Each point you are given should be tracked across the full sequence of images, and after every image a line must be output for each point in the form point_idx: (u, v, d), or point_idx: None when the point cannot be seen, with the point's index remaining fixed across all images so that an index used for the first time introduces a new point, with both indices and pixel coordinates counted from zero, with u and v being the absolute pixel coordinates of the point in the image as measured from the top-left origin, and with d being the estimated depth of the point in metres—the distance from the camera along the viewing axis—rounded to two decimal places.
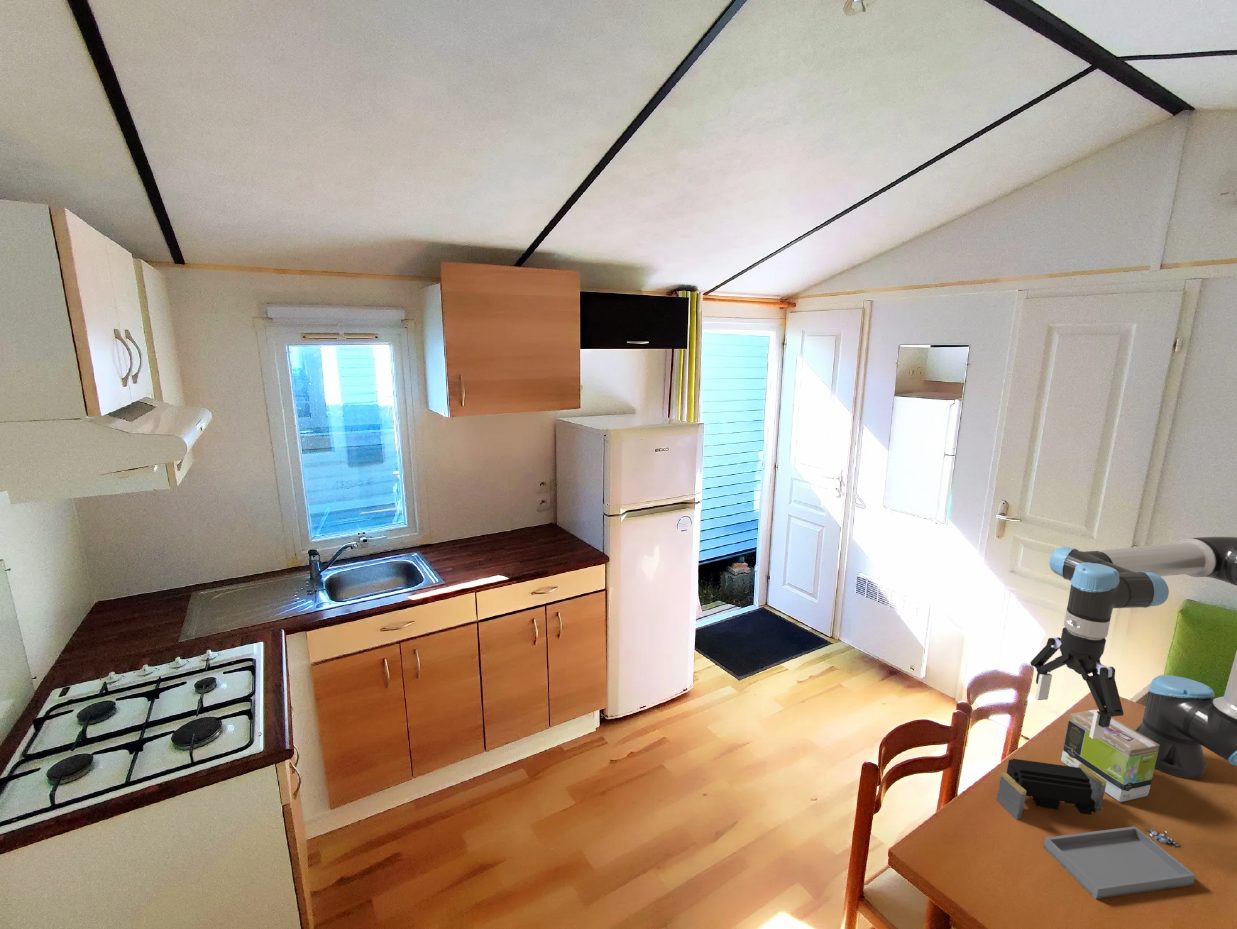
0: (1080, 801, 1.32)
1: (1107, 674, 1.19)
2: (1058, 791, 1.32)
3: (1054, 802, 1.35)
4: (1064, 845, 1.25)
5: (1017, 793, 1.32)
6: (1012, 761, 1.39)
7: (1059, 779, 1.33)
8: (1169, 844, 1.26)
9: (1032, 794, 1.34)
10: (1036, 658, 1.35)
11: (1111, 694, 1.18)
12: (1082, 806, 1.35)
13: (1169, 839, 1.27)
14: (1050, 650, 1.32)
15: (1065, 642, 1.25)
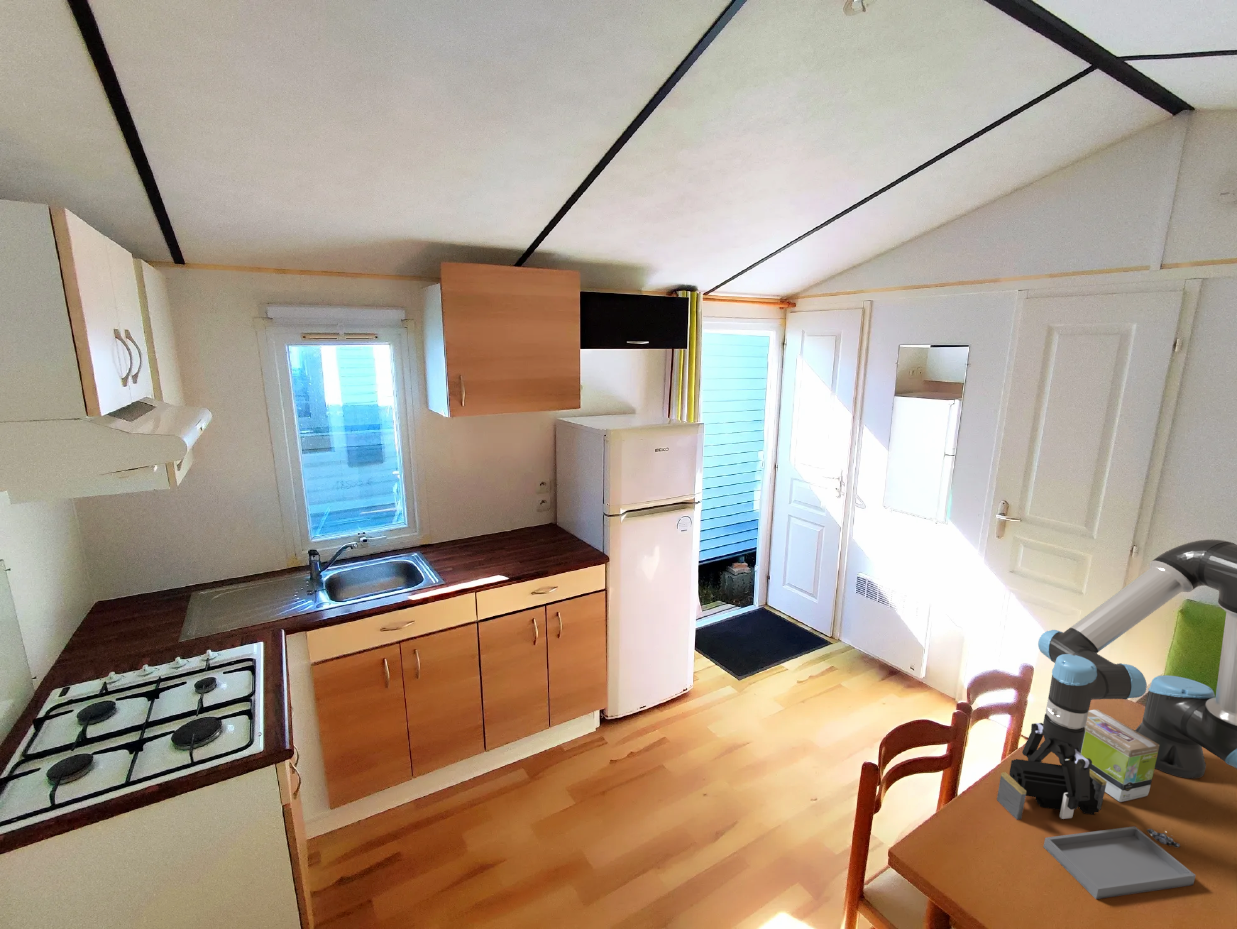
0: (1083, 801, 1.32)
1: (1083, 766, 1.27)
2: (1061, 792, 1.32)
3: (1057, 803, 1.35)
4: (1064, 845, 1.25)
5: (1017, 793, 1.32)
6: (1015, 761, 1.38)
7: (1062, 779, 1.33)
8: (1169, 844, 1.26)
9: (1035, 794, 1.34)
10: (1026, 747, 1.42)
11: (1082, 783, 1.27)
12: (1085, 806, 1.35)
13: (1169, 839, 1.27)
14: (1036, 736, 1.39)
15: (1046, 728, 1.33)
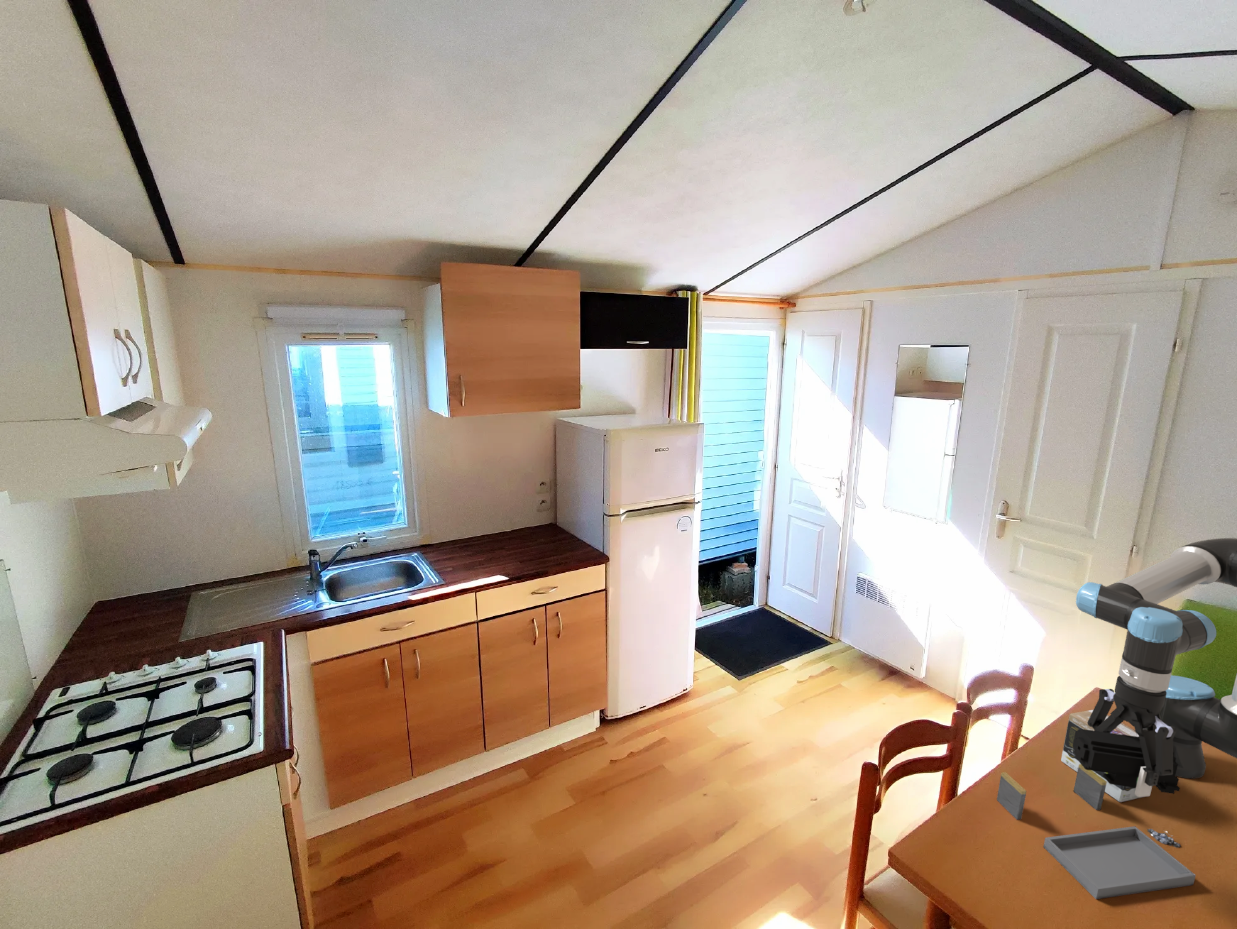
0: (1163, 777, 1.14)
1: (1166, 735, 1.10)
2: (1137, 766, 1.15)
3: (1130, 779, 1.18)
4: (1064, 845, 1.25)
5: (1017, 793, 1.32)
6: (1080, 732, 1.21)
7: (1138, 752, 1.15)
8: (1170, 844, 1.26)
9: (1105, 769, 1.16)
10: (1092, 716, 1.24)
11: (1165, 754, 1.10)
12: (1163, 784, 1.18)
13: (1170, 839, 1.27)
14: (1104, 704, 1.22)
15: (1120, 693, 1.16)
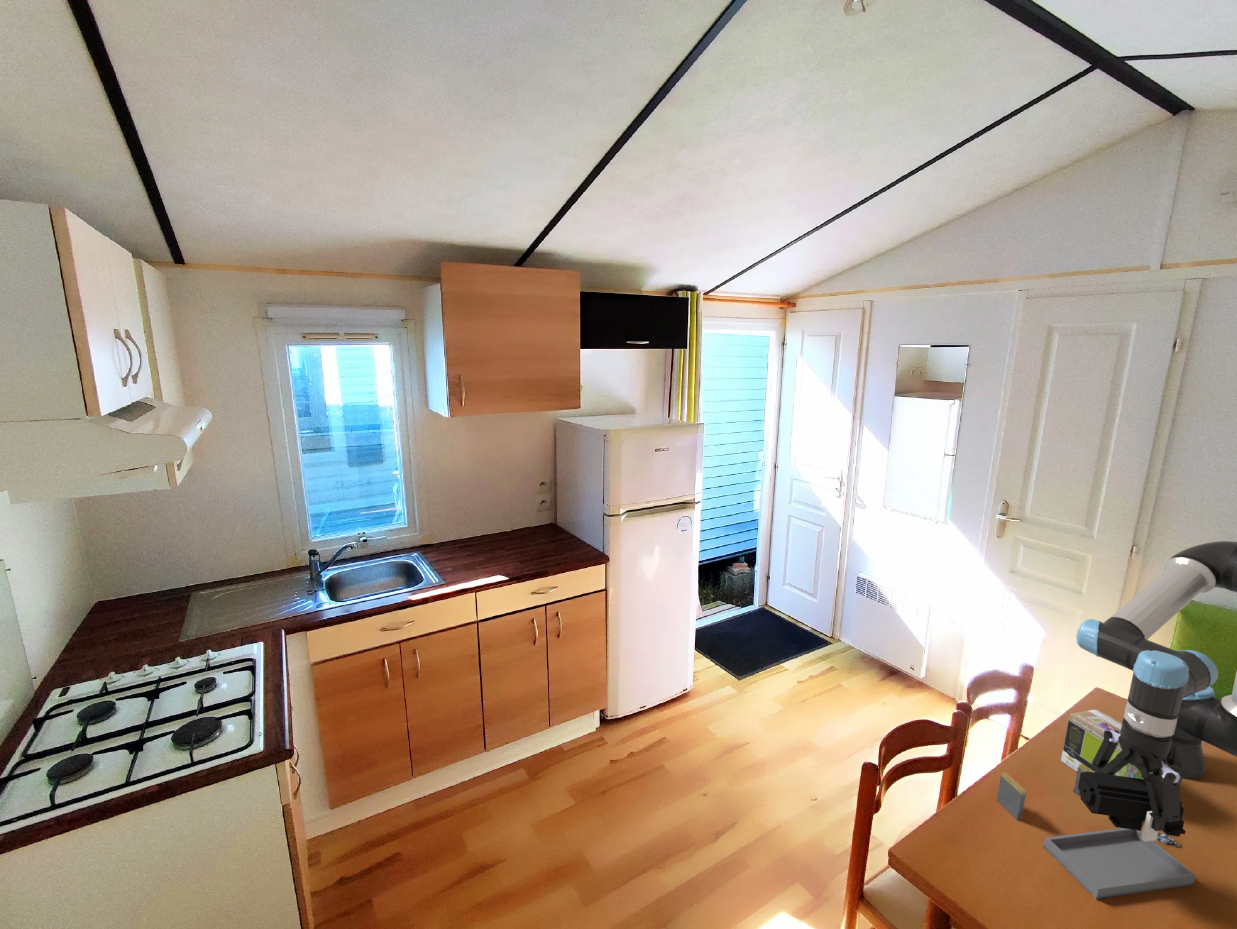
0: None
1: (1173, 781, 1.09)
2: (1143, 810, 1.14)
3: (1135, 822, 1.17)
4: (1064, 845, 1.25)
5: (1017, 793, 1.32)
6: (1086, 774, 1.20)
7: (1144, 796, 1.15)
8: (1170, 844, 1.26)
9: (1112, 813, 1.15)
10: (1097, 757, 1.23)
11: (1172, 800, 1.09)
12: (1168, 827, 1.17)
13: (1170, 839, 1.27)
14: (1109, 745, 1.21)
15: (1126, 736, 1.15)
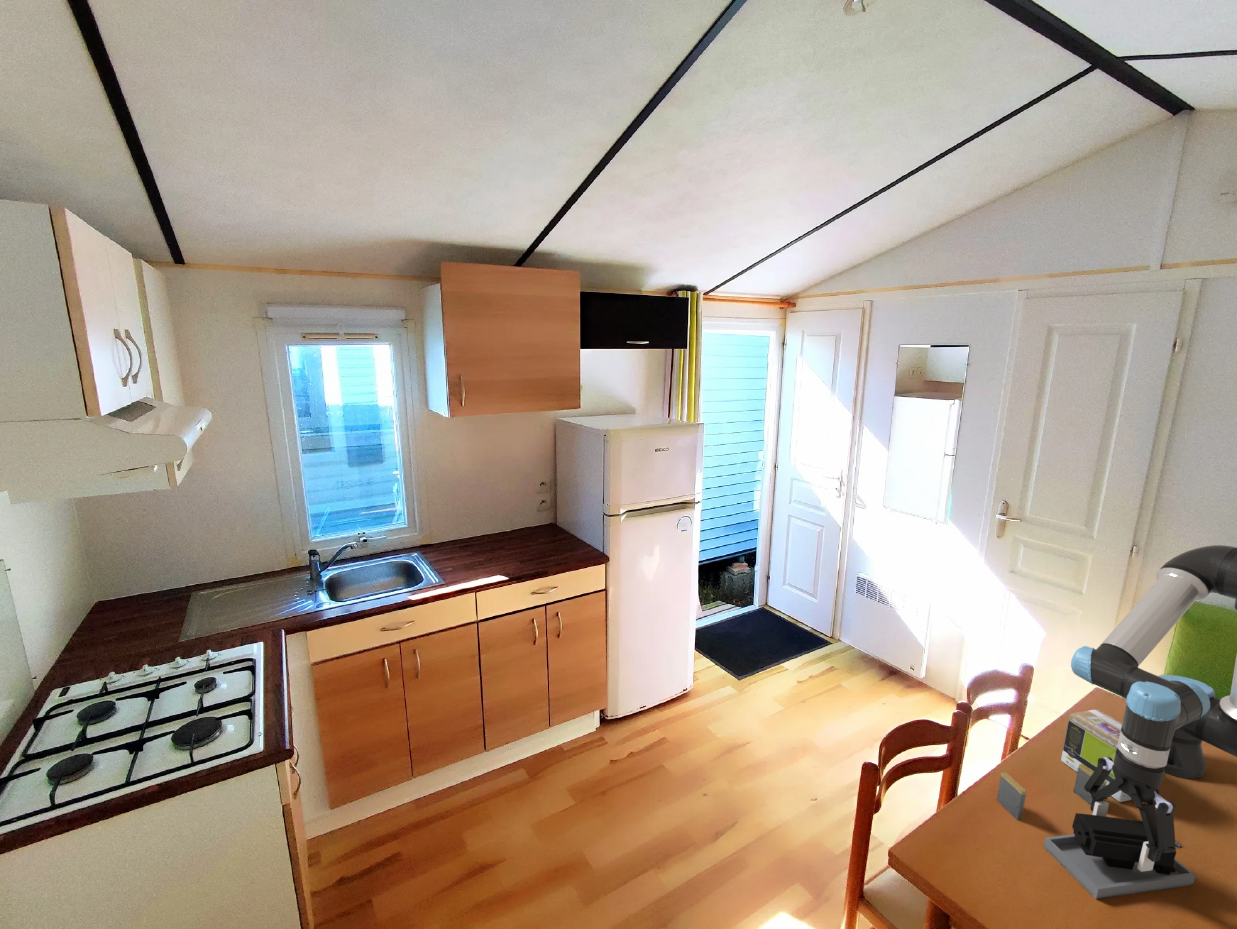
0: (1161, 863, 1.15)
1: (1166, 811, 1.10)
2: (1137, 854, 1.16)
3: (1128, 862, 1.19)
4: (1064, 845, 1.25)
5: (1017, 793, 1.32)
6: (1081, 816, 1.21)
7: (1138, 839, 1.16)
8: None
9: (1106, 856, 1.17)
10: (1089, 782, 1.25)
11: (1166, 831, 1.10)
12: (1159, 865, 1.19)
13: None
14: (1103, 772, 1.23)
15: (1119, 766, 1.16)
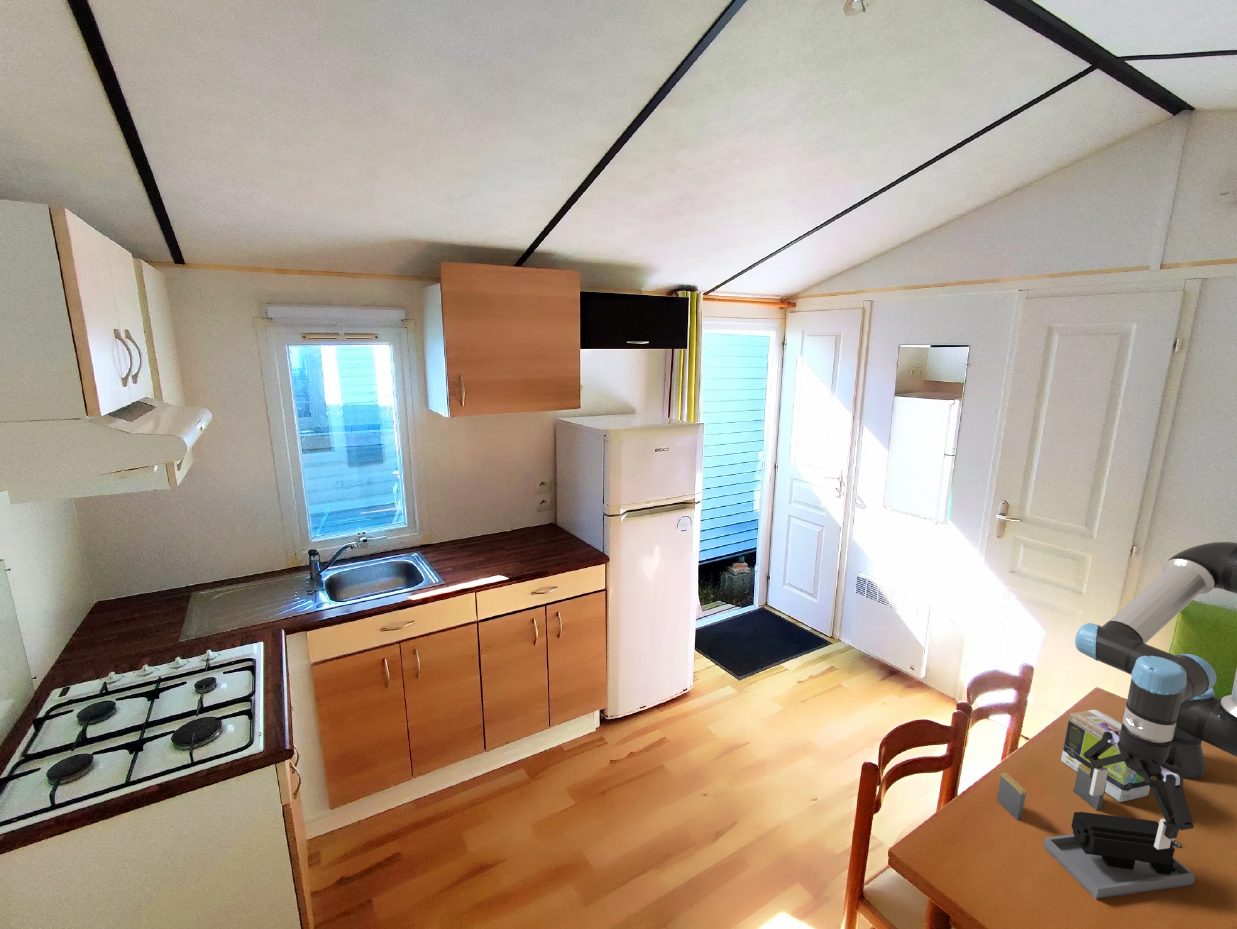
0: (1160, 861, 1.16)
1: (1174, 782, 1.09)
2: (1136, 851, 1.16)
3: (1128, 861, 1.19)
4: (1064, 845, 1.25)
5: (1017, 793, 1.32)
6: (1079, 814, 1.22)
7: (1136, 836, 1.17)
8: None
9: (1106, 854, 1.17)
10: (1090, 751, 1.25)
11: (1179, 805, 1.08)
12: (1159, 865, 1.19)
13: None
14: (1106, 744, 1.22)
15: (1125, 742, 1.15)
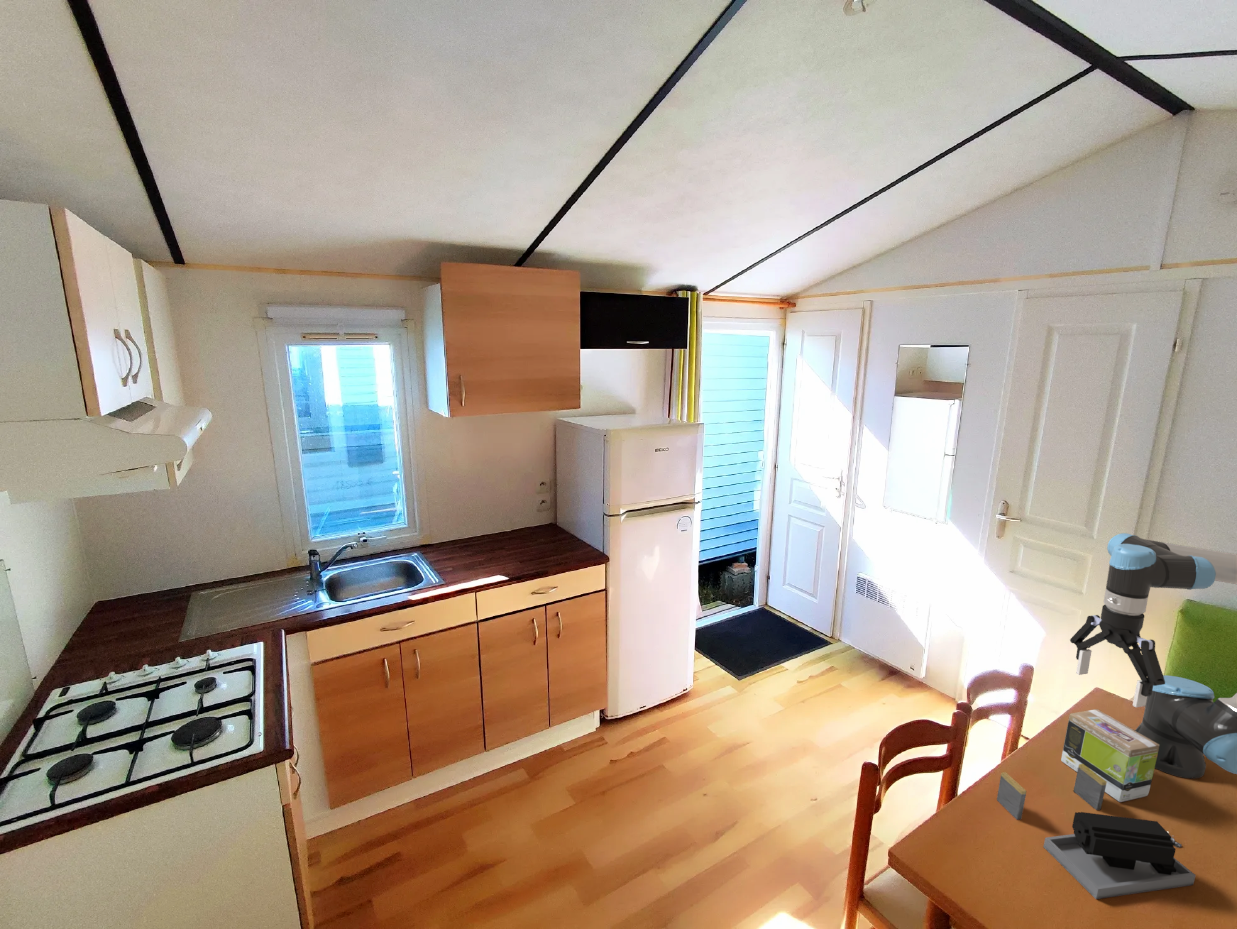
0: (1161, 861, 1.16)
1: (1148, 646, 1.28)
2: (1136, 851, 1.16)
3: (1129, 862, 1.19)
4: (1064, 845, 1.25)
5: (1017, 793, 1.32)
6: (1080, 815, 1.22)
7: (1137, 837, 1.17)
8: None
9: (1106, 854, 1.17)
10: (1076, 635, 1.44)
11: (1153, 665, 1.27)
12: (1160, 865, 1.19)
13: (1171, 839, 1.27)
14: (1090, 627, 1.41)
15: (1106, 619, 1.34)
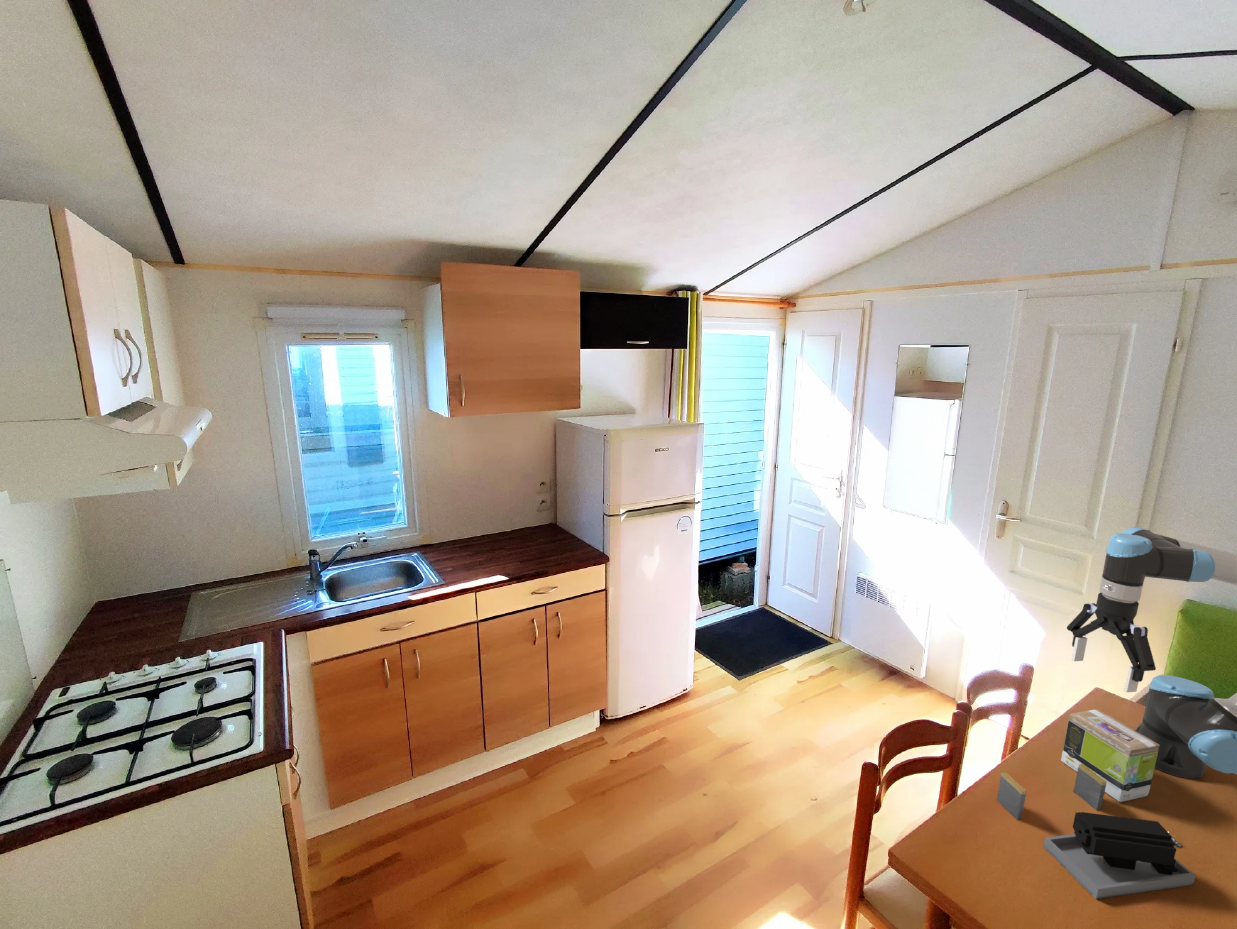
0: (1162, 862, 1.16)
1: (1140, 633, 1.31)
2: (1137, 851, 1.16)
3: (1129, 862, 1.19)
4: (1064, 845, 1.25)
5: (1017, 793, 1.32)
6: (1081, 815, 1.22)
7: (1137, 837, 1.17)
8: None
9: (1107, 854, 1.17)
10: (1072, 623, 1.48)
11: (1144, 651, 1.31)
12: (1161, 865, 1.19)
13: (1171, 839, 1.27)
14: (1086, 615, 1.44)
15: (1100, 606, 1.38)
